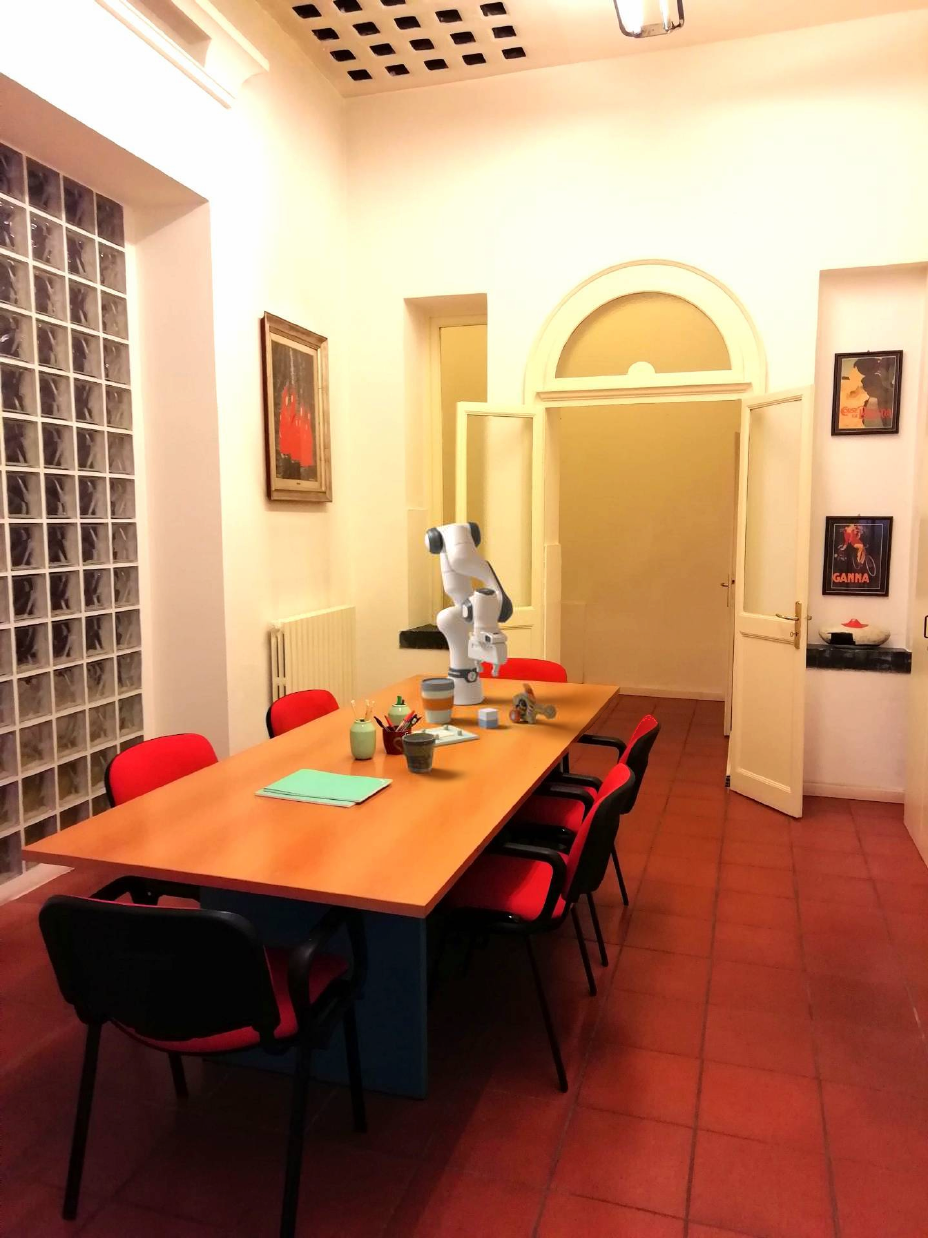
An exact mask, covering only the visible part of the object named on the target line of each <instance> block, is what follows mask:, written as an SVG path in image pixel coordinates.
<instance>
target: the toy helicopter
mask: <svg viewBox="0 0 928 1238" xmlns="http://www.w3.org/2000/svg"><path fill="white" fill-rule="evenodd" d="M522 687H523V689H524V691H523V692H520V693H516V694H515V695H513V698H512V708H513V709H511V710H509V712H508V717H509V720H510V722H512V723H513V724H514V723H515V724H516V723H519V722H520V721H521V720H522V721H526V722H528V723H529V724H530V725H532V724H536V723H537V722H536V718H537V716H538V715H539V716H544V717H545V718H546V719H548V720H552V719H555V718H556V716H557V710H556V707H554V705H553V704H548V705H542V704H539V703H537V702H536V700H537V699H536V695H535V694H534V691H533V689H532V687H531V685H530V684H529V683H522Z"/></svg>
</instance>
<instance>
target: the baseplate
mask: <svg viewBox="0 0 928 1238" xmlns="http://www.w3.org/2000/svg"><path fill="white" fill-rule="evenodd" d="M412 732H413V733H430V734H433V735H435V736H436V742H435V747H441V746H444V745H450V744H455V743H461V742H467V741H473V740H478V739H479V735H477V734H474V733H473V732H472V733H471V732H470V731H467V730H464V729H462V728H458V727H456V726H453V725H451V724H450V725H448V724H445V725H443V726H438V727H434V728H428V729H427V728H421V729H420V730H416V731H415V730H414V731H412Z"/></svg>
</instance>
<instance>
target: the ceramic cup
mask: <svg viewBox="0 0 928 1238" xmlns="http://www.w3.org/2000/svg"><path fill="white" fill-rule="evenodd" d="M396 741H400V742H401V743H402V745H403V749H402V748H401V747H399V746H398V745H397V744H396ZM435 742H436V736H435V735H433V734H430V733H412V734H407V735H406V734H404V735H403V736H402V738H401V737H396V738H395V739H394V741H393V746H395V748H396V749H397V750H399V751H400V752H401V754H402V755H404V757H405V760H406V764H407V769H408V771H409V772H411V773H416V774H417V773H418V774H423V773H428V772H430V771H431V770H432V768H433V759H434V755H435V754H434V753H435V747H436V746H435Z"/></svg>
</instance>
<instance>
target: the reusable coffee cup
mask: <svg viewBox="0 0 928 1238" xmlns="http://www.w3.org/2000/svg"><path fill="white" fill-rule="evenodd" d="M454 688H455V685H454V680H453V679H451V678H447V677H428V678H424V679H422V680H420V690H421V702H422V707H423V709H424V714H425V721H426V723H428V724H433V725H441V724H447V723H450V722H451V720H452V711H453V708H454V705H455V704H454V695H453V693H454Z"/></svg>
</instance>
